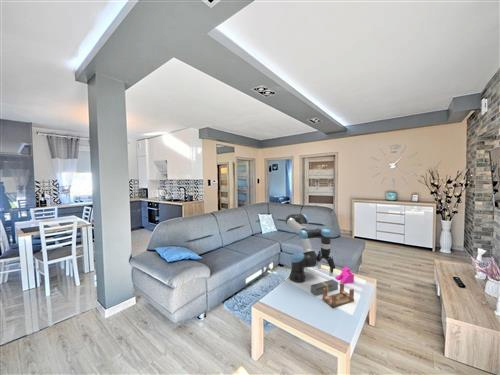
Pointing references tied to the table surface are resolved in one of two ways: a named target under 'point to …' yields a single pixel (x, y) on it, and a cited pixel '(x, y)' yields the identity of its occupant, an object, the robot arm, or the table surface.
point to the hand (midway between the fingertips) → (325, 272)
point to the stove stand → (338, 297)
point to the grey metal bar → (329, 284)
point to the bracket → (345, 276)
